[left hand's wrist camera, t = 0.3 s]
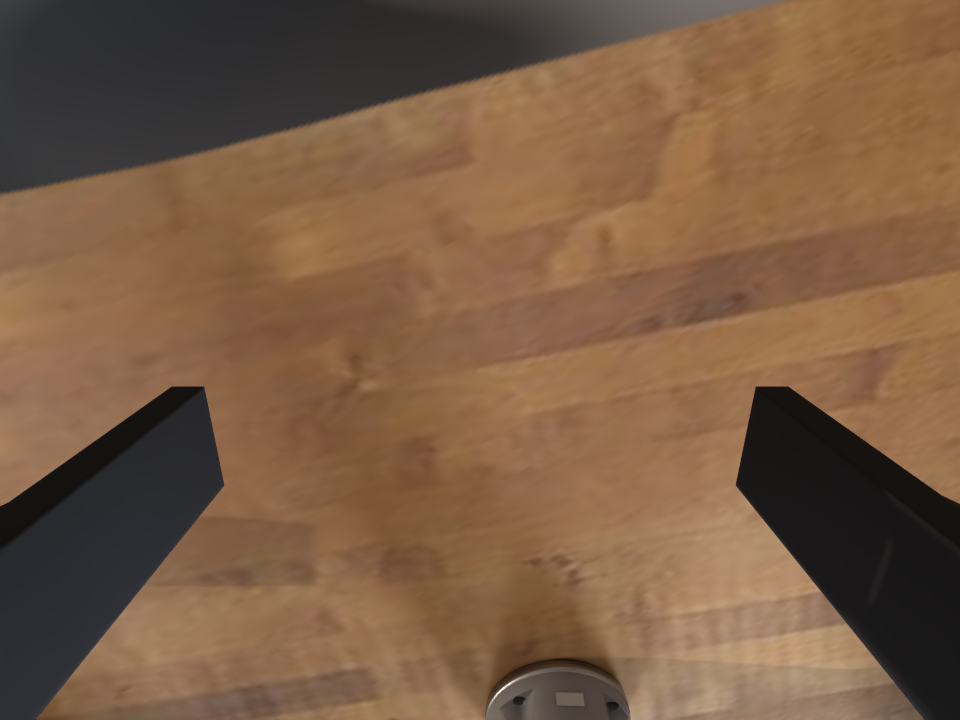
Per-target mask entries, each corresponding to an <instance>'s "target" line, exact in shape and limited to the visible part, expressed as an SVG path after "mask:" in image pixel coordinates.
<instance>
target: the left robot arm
mask: <svg viewBox="0 0 960 720" xmlns="http://www.w3.org/2000/svg"><path fill="white" fill-rule="evenodd" d="M223 486H224V482H223V477H222V472H221V467H220V462H219V457H218V452H217V447H216V442H215V438H214V433H213V428H212V423H211V418H210V413H209V408H208V403H207V398H206V393H205V389H204V387H171V388H169V389H168V390H166V391H165V392H164V393H162V394H161V395H159V396H158V397H157V398H155V399H154V400H152V401H151V402H150V403H148V404H147V405H145V406H144V407H142V408H141V409H140V410H138V411H137V412H135V413H134V414H133V415H131V416H130V417H128V418H127V419H126V420H124V421H123V422H121V423H120V424H119V425H117V426H116V427H114V428H113V429H111V430H110V431H109V432H107V433H106V434H104V435H103V436H102V437H100V438H99V439H97V440H96V441H95V442H93V443H92V444H90V445H89V446H87V447H86V448H85V449H83V450H82V451H80V452H79V453H78V454H76V455H75V456H73V457H72V458H71V459H69V460H68V461H66V462H65V463H64V464H62V465H61V466H59V467H58V468H56V469H55V470H54V471H52V472H51V473H49V474H48V475H47V476H45V477H44V478H42V479H41V480H40V481H38V482H37V483H35V484H34V485H33V486H31V487H30V488H28V489H27V490H25V491H24V492H23V493H21V494H20V495H18V496H17V497H16V498H14V499H13V500H11V501H10V502H8V503H6V504H4V505H2V506H0V720H35V719H36V718H37V717H38V716H39V715H40V713H41V712H42V711H43V710H44V708H45V707H46V706H47V705H48V703H49V702H50V701H51V700H52V698H53V697H54V696H55V695H56V693H57V692H58V691H59V690H60V688H61V687H62V686H63V685H64V684H65V682H66V681H67V680H68V679H69V677H70V676H71V675H72V674H73V672H74V671H75V670H76V669H77V667H78V666H79V665H80V664H81V662H82V661H83V660H84V659H85V657H86V656H87V655H88V654H89V652H90V651H91V650H92V649H93V648H94V646H95V645H96V644H97V643H98V641H99V640H100V639H101V638H102V636H103V635H104V634H105V633H106V631H107V630H108V629H109V628H110V626H111V625H112V624H113V623H114V621H115V620H116V619H117V618H118V617H119V615H120V614H121V613H122V612H123V610H124V609H125V608H126V607H127V605H128V604H129V603H130V602H131V600H132V599H133V598H134V597H135V595H136V594H137V593H138V592H139V590H140V589H141V588H142V587H143V586H144V584H145V583H146V582H147V581H148V579H149V578H150V577H151V576H152V574H153V573H154V572H155V571H156V569H157V568H158V567H159V566H160V564H161V563H162V562H163V561H164V559H165V558H166V557H167V556H168V554H169V553H170V552H171V551H172V550H173V548H174V547H175V546H176V545H177V543H178V542H179V541H180V540H181V538H182V537H183V536H184V535H185V533H186V532H187V531H188V530H189V528H190V527H191V526H192V525H193V523H194V522H195V521H196V520H197V519H198V517H199V516H200V515H201V514H202V512H203V511H204V510H205V509H206V507H207V506H208V505H209V504H210V502H211V501H212V500H213V499H214V497H215V496H216V495H217V494H218V492H219V491H220V490H221V489H222V488H223ZM736 486H737V488H738V489H739V490H740V491H741V492H742V494H743V495H744V496H745V497H746V499H747V500H748V501H749V502H750V504H751V505H752V506H753V507H754V509H755V510H756V511H757V512H758V514H759V515H760V516H761V517H762V519H763V520H764V521H765V522H766V523H767V525H768V526H769V527H770V528H771V530H772V531H773V532H774V533H775V535H776V536H777V537H778V538H779V540H780V541H781V542H782V543H783V545H784V546H785V547H786V548H787V550H788V551H789V552H790V553H791V554H792V556H793V557H794V558H795V559H796V561H797V562H798V563H799V564H800V566H801V567H802V568H803V569H804V571H805V572H806V573H807V574H808V576H809V577H810V578H811V579H812V581H813V582H814V583H815V584H816V586H817V587H818V588H819V589H820V590H821V592H822V593H823V594H824V595H825V597H826V598H827V599H828V600H829V602H830V603H831V604H832V605H833V607H834V608H835V609H836V610H837V612H838V613H839V614H840V615H841V617H842V618H843V619H844V620H845V621H846V623H847V624H848V625H849V626H850V628H851V629H852V630H853V631H854V633H855V634H856V635H857V636H858V638H859V639H860V640H861V641H862V643H863V644H864V645H865V646H866V648H867V649H868V650H869V651H870V652H871V654H872V655H873V656H874V657H875V659H876V660H877V661H878V662H879V664H880V665H881V666H882V667H883V669H884V670H885V671H886V672H887V674H888V675H889V676H890V677H891V679H892V680H893V681H894V682H895V684H896V685H897V686H898V687H899V688H900V690H901V691H902V692H903V693H904V695H905V696H906V697H907V698H908V700H909V701H910V702H911V703H912V705H913V706H914V707H915V708H916V710H917V711H918V712H919V713H920V715H921V716H922V717H923V718H924V719H925V720H960V504H958V503H956V502H954V501H952V500H950V499H948V498H946V497H944V496H942V495H940V494H939V493H937V492H936V491H935V490H933V489H932V488H930V487H929V486H927V485H926V484H925V483H923V482H922V481H920V480H919V479H918V478H916V477H915V476H913V475H912V474H911V473H909V472H908V471H906V470H905V469H904V468H902V467H901V466H899V465H898V464H896V463H895V462H894V461H892V460H891V459H889V458H888V457H887V456H885V455H884V454H882V453H881V452H880V451H878V450H877V449H875V448H874V447H873V446H871V445H870V444H868V443H867V442H865V441H864V440H863V439H861V438H860V437H858V436H857V435H856V434H854V433H853V432H851V431H850V430H849V429H847V428H846V427H844V426H843V425H841V424H840V423H839V422H837V421H836V420H834V419H833V418H832V417H830V416H829V415H827V414H826V413H825V412H823V411H822V410H820V409H819V408H818V407H816V406H815V405H813V404H812V403H810V402H809V401H808V400H806V399H805V398H803V397H802V396H801V395H799V394H798V393H796V392H795V391H794V390H792V389H791V388H789V387H756V388H755V393H754V398H753V403H752V408H751V413H750V418H749V423H748V428H747V433H746V438H745V442H744V447H743V452H742V457H741V462H740V467H739V472H738V477H737V482H736ZM486 720H631V718H630V711H629V707H628V703H627V699H626V696H625V693H624V691H623V689H622V687H621V686H620V685H619V683H618V682H617V681H616V680H615V679H614V678H613V677H612V676H610V675H609V674H608V673H606V672H605V671H603V670H601V669H599V668H597V667H595V666H592V665H589V664H586V663H582V662H577V661H570V660H550V661H543V662H538V663H534V664H530V665H527V666H525V667H522V668H520V669H518V670H516V671H514V672H512V673H510V674H509V675H507V676H506V677H505V678H504V679H502V680H501V681H500V682H499V683H498V684H497V685H496V686H495V688H494V689H493V690H492V692H491V694H490V696H489V698H488V701H487V705H486Z"/></svg>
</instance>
